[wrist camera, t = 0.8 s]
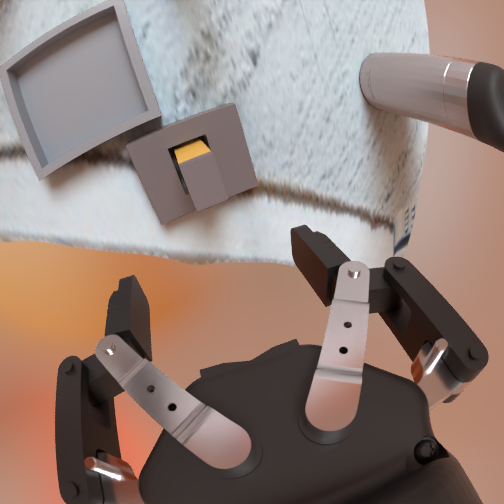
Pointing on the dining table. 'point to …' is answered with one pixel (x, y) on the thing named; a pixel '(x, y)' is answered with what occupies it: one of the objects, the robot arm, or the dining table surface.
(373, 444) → the robot arm
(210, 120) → the socket plate
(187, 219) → the dining table surface
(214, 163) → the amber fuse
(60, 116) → the grey tray
